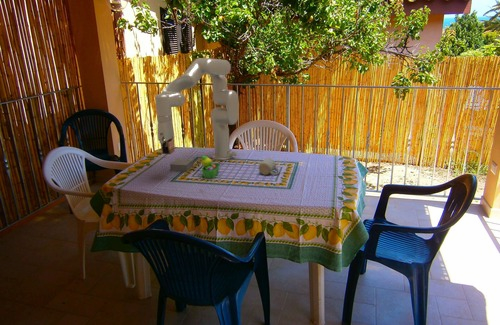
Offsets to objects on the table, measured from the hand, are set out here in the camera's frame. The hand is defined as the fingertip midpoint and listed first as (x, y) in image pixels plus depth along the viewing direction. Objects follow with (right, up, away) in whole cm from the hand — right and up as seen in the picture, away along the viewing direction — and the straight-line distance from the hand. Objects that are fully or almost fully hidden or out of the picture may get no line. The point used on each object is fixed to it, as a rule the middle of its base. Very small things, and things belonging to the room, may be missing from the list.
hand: (168, 151), depth 200 cm
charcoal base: (+4, -9, +19) cm, 22 cm away
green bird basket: (+22, -13, +7) cm, 26 cm away
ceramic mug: (+54, -12, +8) cm, 56 cm away
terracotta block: (0, -1, 0) cm, 1 cm away
